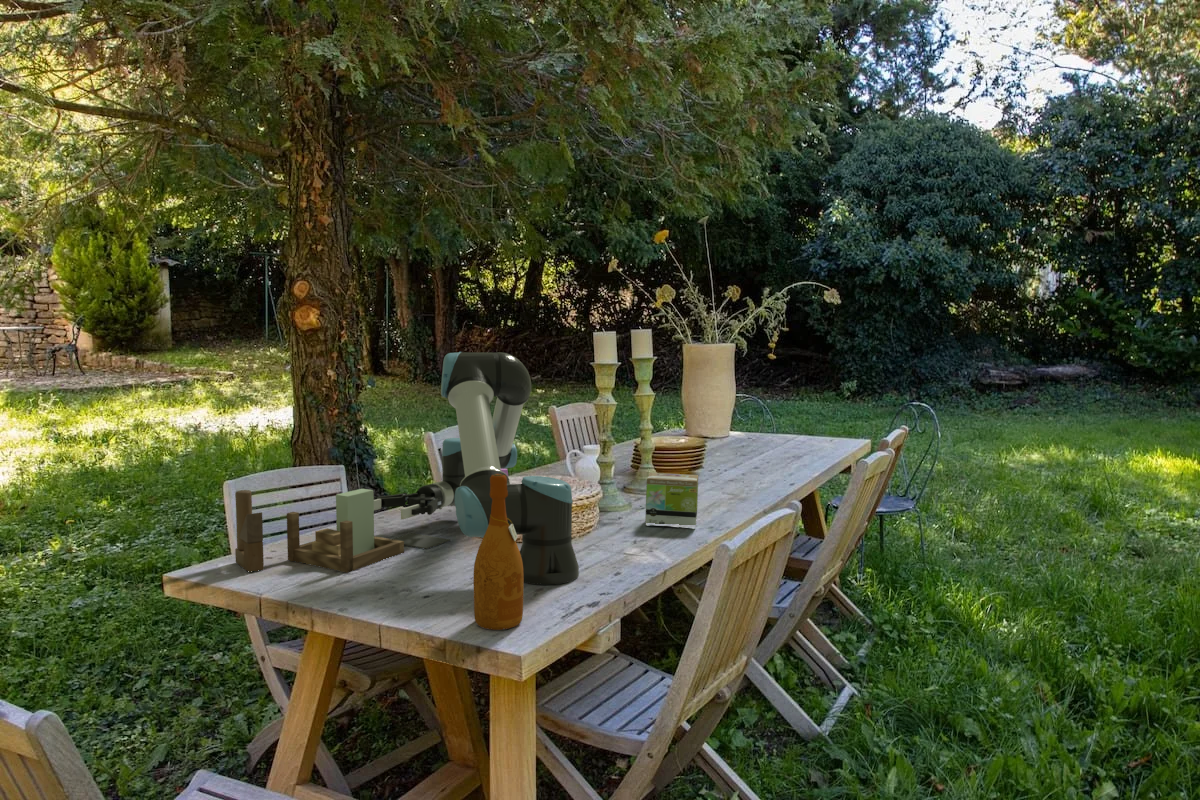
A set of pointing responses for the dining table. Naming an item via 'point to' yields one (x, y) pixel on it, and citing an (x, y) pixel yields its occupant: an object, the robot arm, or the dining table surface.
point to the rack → (346, 560)
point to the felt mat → (420, 540)
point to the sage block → (357, 517)
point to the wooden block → (248, 533)
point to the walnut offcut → (328, 537)
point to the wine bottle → (498, 567)
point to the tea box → (671, 499)
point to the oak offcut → (326, 548)
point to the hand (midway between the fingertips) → (382, 511)
